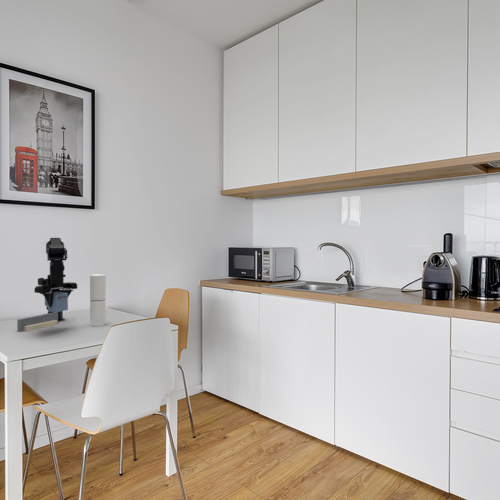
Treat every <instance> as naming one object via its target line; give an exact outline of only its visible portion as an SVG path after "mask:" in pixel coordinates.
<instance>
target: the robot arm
mask: <svg viewBox="0 0 500 500" xmlns="http://www.w3.org/2000/svg"><path fill="white" fill-rule="evenodd" d="M61 238H62V237H51V238H49V241H47V242H46V243H45V254H46V255H47V259H46V261H48V262H49V274H47V278H44V277H39V278H37V285H36V286H35V287H34V293H37V294H40V295H42V296H43V297H44V299H45V298H46V301H47V303H48V305H49V307H52V302H53V295H54V293H52V292H64V293H68V298H69V296H70V295H71V293H72V292H73V291H74V290H77V289H78V284H77V283H76V282H74V281H73V282H70V281H68V282H64V278H66V274H64V273H65V268H66V267H65V265H64V261H67V259H68V250H67V248H66V247H65V243H64V242H63V241H62V239H61ZM49 307H48V306H46V310H47V314H48V313H53V312H49ZM63 313H64V311H60V312H58V322H59V321H65V320H66V318H63V315H64V314H63Z"/></svg>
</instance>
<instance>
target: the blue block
mask: <svg viewBox="0 0 500 500" xmlns="http://www.w3.org/2000/svg"><path fill="white" fill-rule="evenodd" d="M52 293H54V295H53V302H52V307H49V305H48V303H47V301H46V298H45V297H44V306H48V307H49V312H60V311H63V312H65V311H68V310H69V302H68V301H69V297H68V293H64V292H52Z"/></svg>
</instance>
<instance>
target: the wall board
mask: <svg viewBox="0 0 500 500" xmlns="http://www.w3.org/2000/svg"><path fill="white" fill-rule="evenodd" d="M16 321H17V324H16V325H17V329H16V330H17V332H20V333H21V332H29V331H34V330H38V329H42V328H46V327H52V326H56V325H58V324H59V321H58V312H53V313H48V312H47V313H43V314H39V315H38V314H37V315H34V316H33V315H32V316H29V317H22V318H19V319H18V318H17V320H16Z"/></svg>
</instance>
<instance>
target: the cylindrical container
mask: <svg viewBox="0 0 500 500" xmlns="http://www.w3.org/2000/svg"><path fill="white" fill-rule="evenodd" d="M89 299H90V301H89V304H90V305H89V312H90V313H89V315H90V316H89V319H90V320H89V321H90V322H89V324H90V327H102V326H105V325H106V324H107V323H106V322H107V321H106V320H107V319H106V310H107V309H106V274H104V273H103V274H101V273H100V274H99V273H98V274H97V273H95V274H90V275H89Z"/></svg>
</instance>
